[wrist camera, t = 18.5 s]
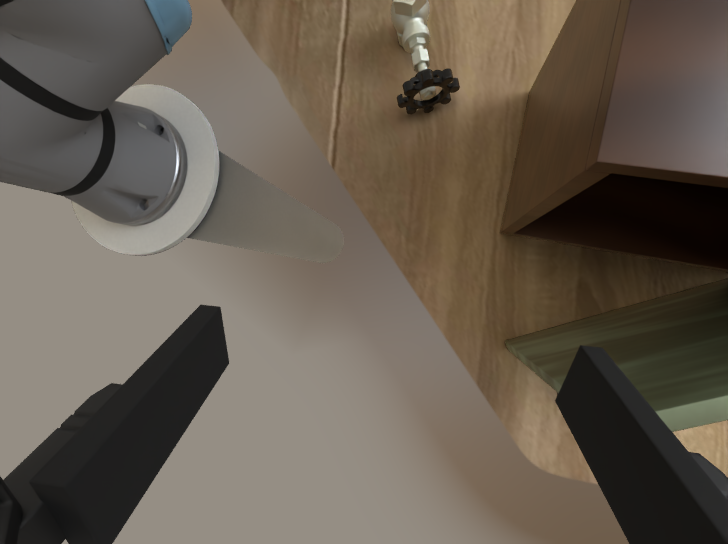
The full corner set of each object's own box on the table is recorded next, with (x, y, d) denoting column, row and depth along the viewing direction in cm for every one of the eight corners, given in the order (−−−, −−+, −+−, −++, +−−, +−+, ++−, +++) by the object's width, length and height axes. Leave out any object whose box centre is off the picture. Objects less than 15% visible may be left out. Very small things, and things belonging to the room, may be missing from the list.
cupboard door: (765, 345, 32) (1446, 472, 11) (527, 403, 36) (669, 582, 15) (735, 276, 33) (1319, 262, 11) (504, 340, 37) (608, 422, 15)
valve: (381, 27, 41) (401, 120, 40) (371, -21, 34) (395, 89, 34) (435, 8, 40) (457, 104, 39) (436, -46, 33) (462, 68, 32)
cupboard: (737, 273, 33) (1344, 253, 11) (499, 233, 37) (596, 161, 16) (772, 113, 33) (1454, -229, 11) (529, 91, 37) (669, -183, 15)
